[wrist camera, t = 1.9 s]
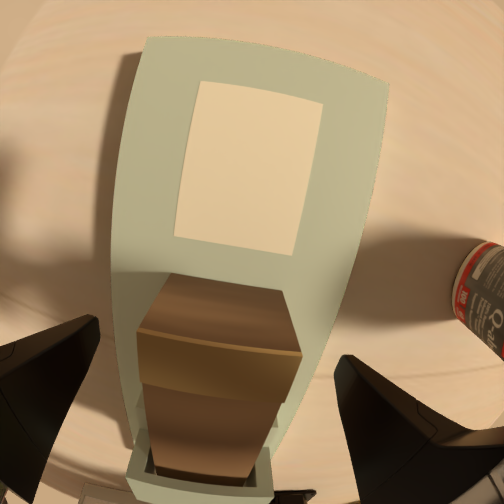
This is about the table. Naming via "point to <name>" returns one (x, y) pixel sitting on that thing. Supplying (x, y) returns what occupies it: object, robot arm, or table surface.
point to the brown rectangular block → (214, 376)
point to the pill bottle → (482, 295)
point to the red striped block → (106, 496)
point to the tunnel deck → (239, 207)
